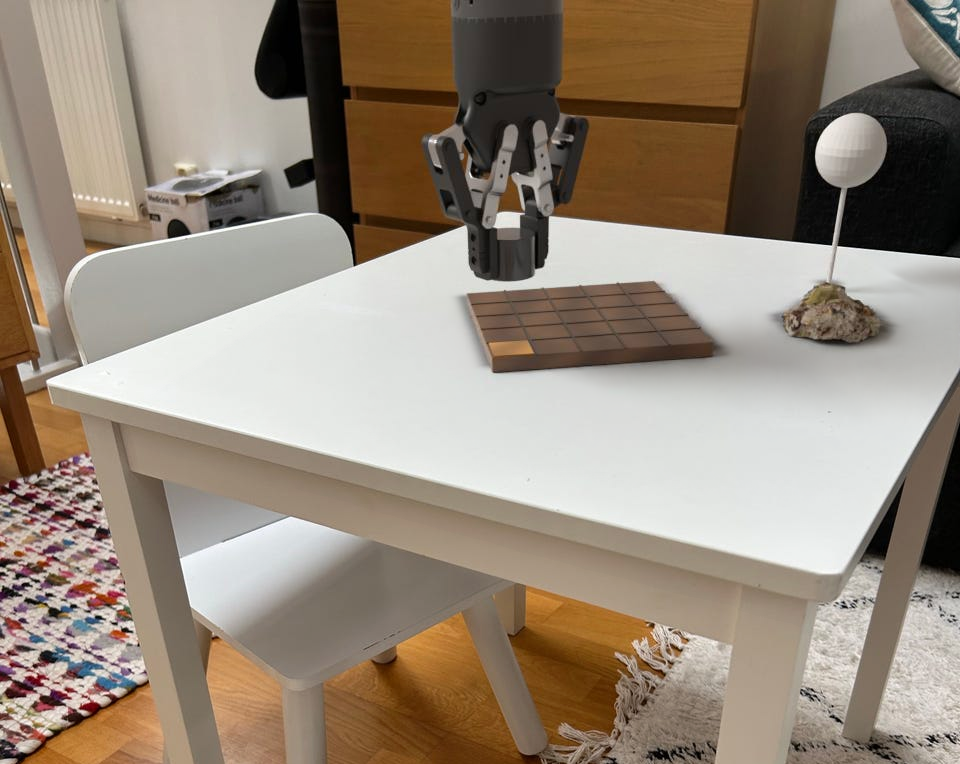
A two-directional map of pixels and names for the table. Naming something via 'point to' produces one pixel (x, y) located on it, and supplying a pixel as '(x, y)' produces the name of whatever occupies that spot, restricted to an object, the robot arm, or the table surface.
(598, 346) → the board
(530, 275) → the dark grey cylinder
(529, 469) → the table surface
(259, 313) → the table surface
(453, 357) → the table surface
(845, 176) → the lollipop
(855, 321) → the mineral rock
